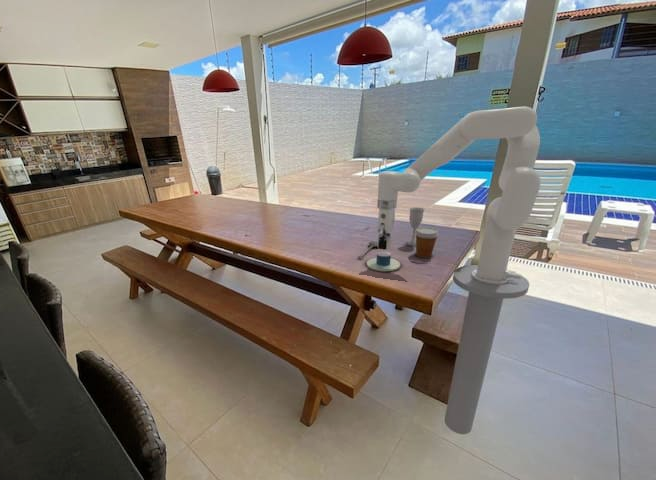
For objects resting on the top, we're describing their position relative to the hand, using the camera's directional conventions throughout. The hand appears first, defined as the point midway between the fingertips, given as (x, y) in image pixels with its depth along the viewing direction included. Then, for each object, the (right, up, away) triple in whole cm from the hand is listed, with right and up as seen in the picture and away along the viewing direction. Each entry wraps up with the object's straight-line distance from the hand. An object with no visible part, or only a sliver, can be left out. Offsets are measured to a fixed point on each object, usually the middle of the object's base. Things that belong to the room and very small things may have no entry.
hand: (384, 246), depth 129 cm
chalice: (+21, +2, +24) cm, 32 cm away
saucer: (+1, -8, +3) cm, 9 cm away
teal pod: (+1, -7, +3) cm, 8 cm away
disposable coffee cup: (+21, -4, +10) cm, 24 cm away
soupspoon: (-2, -1, +18) cm, 18 cm away
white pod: (0, 0, 0) cm, 0 cm away
